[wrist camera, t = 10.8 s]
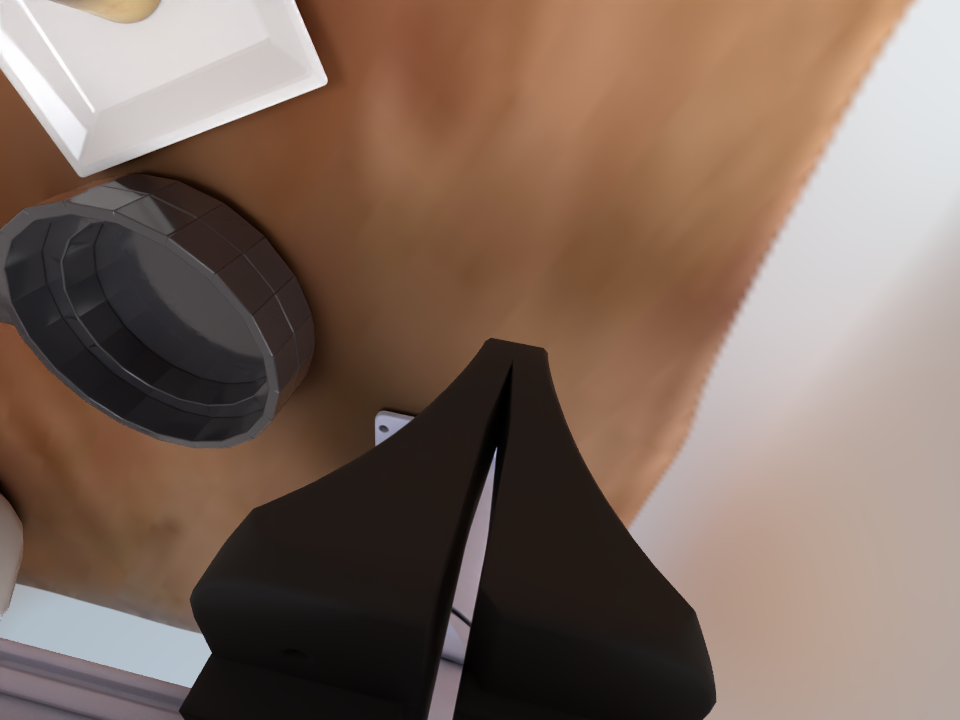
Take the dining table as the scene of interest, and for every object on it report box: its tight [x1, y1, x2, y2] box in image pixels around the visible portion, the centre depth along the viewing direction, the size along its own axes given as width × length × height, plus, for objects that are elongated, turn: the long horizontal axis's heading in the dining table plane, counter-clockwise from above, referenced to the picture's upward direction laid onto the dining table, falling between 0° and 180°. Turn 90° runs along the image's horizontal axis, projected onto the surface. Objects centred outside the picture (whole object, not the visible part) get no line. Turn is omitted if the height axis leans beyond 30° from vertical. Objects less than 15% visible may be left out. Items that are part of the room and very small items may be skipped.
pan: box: [0, 173, 315, 448], centre depth 23 cm, size 12×12×4 cm
